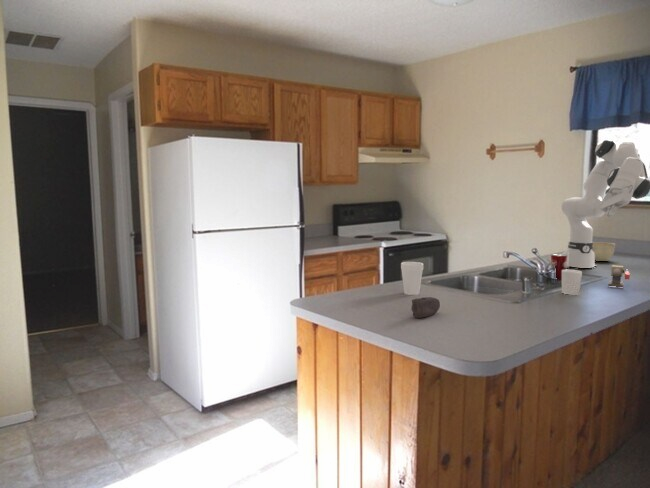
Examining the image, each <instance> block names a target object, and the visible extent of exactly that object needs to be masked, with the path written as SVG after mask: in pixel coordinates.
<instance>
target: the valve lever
mask: <svg viewBox="0 0 650 488" xmlns="http://www.w3.org/2000/svg"><path fill="white" fill-rule="evenodd" d="M624 280H630V271H629V269H628V268H625V269H624Z"/></svg>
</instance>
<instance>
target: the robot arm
mask: <svg viewBox="0 0 650 488" xmlns="http://www.w3.org/2000/svg"><path fill="white" fill-rule="evenodd" d="M638 148H639V147H638V144H637V142H636V141H635V140H634V139H632V138H622V139H620V140H619V141H618V142H616V141H615V140H613V139H609V138H605V139H602V140H601V141H599V143H597V145H596V147H595V150H594V154H595V156H597V158H599V159H600V160H599V161H598V162H597V163H596V164H595V165H594V167H593V168H592V169H591V171H590V173H589V174H588V176H587V178H586V180H585V182H584V184H583V190H584V191H585V196H584V197H577V196H576V197H569V198H566V199H565V200H563V202H562V204H561V211H562V213H563V214H564V215H565V216H566V217H567V220H568V223H569V229H570V236H569V237H570V239H569V241H568V245H567V249H565V250H564V251H563V252H562V253H561V254H564V255H566V256H567V266H572V267H580V268H591V267H594V266H597V264H596V263H595V262H596V261H595V257H594V252H593V251H592V249H593V243H592V242H593V236H594V229H593V227H592V226H591V225H590V224H589V222H588V220H587V218H588V219H597V218H601V217H603V216H604V215H605V214H606V215H605V216H607V217H608V218H609V217H613V216H614V215H615V213H616V212H617V210H619V208H621V207H624V206H626V205H629V204H630V202H631V200H632V198H633V199H634V200H638V199H641V198H645V197H647V195H649V192H650V179H649V177H648V171H647V169H646V165H645V163H644V162H643V160H642V159H641V157H640V154H639V149H638ZM607 187H608V188H607ZM604 194H605V195H604ZM594 268H595V267H594Z"/></svg>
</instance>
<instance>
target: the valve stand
mask: <svg viewBox="0 0 650 488" xmlns="http://www.w3.org/2000/svg"><path fill="white" fill-rule="evenodd" d="M623 274H625V269H624V266H623V265H616V264H615V265H614V264H611V274H610V276H611V278H612V279H611V280H610V279H609V280H608V281H609V282H608V287H609V286H616V287H623V288H624V281H623V280H622V277H623Z"/></svg>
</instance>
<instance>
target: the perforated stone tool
mask: <svg viewBox="0 0 650 488" xmlns="http://www.w3.org/2000/svg"><path fill="white" fill-rule="evenodd" d="M411 303H412V304H411V308H410V309H411V311H412V316H413V317H415V318H417V319H422V318H426V317H430V316H432V315H435V314H436V313H437V312H438V311H439V310H440V307H441V303H440V300H439V299H437V298H435V297H433V296H432V297H430V296H429V297H428V296H427V297H425V296H424V297H420V298H414V299H412V300H411Z"/></svg>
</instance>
